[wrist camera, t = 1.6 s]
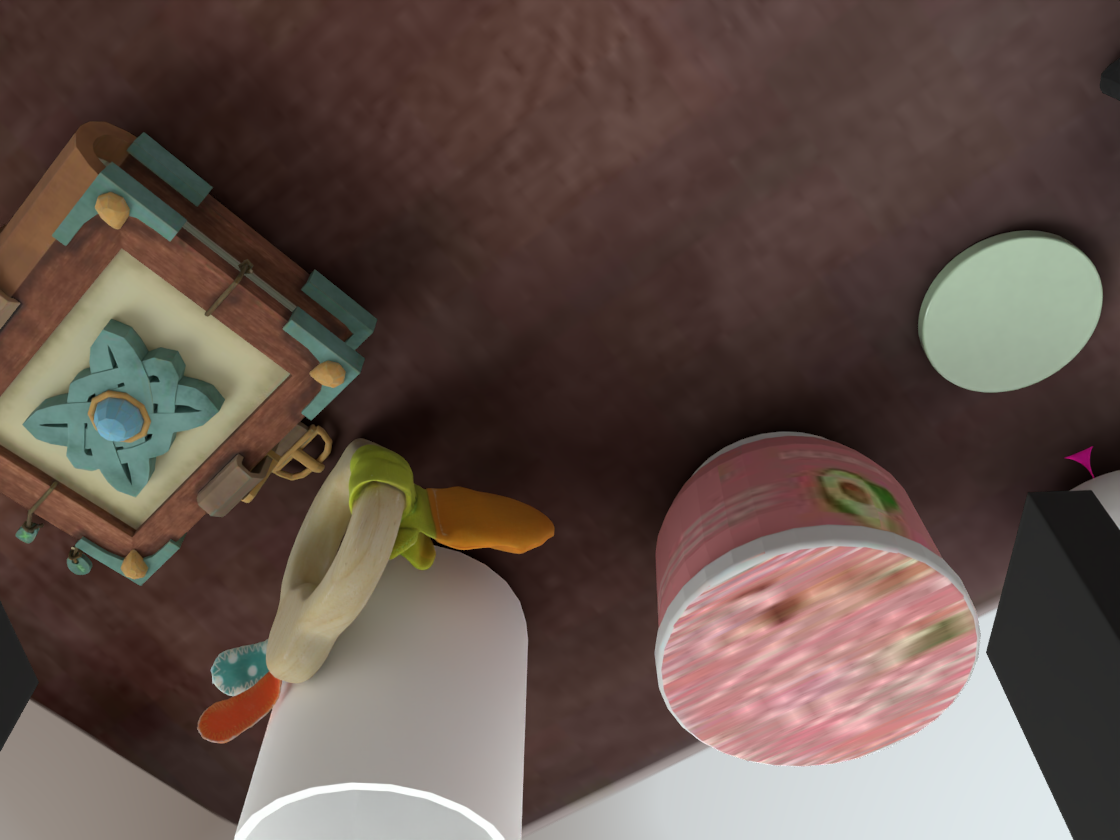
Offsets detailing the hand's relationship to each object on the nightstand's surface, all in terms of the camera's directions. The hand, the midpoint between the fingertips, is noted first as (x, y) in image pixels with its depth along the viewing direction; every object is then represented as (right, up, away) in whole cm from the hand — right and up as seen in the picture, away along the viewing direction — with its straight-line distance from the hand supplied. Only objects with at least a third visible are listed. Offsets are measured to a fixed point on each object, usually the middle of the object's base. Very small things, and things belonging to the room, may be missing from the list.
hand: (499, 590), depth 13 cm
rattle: (-4, +1, +25) cm, 25 cm away
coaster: (+16, +6, +22) cm, 28 cm away
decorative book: (-14, +3, +24) cm, 28 cm away
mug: (-5, -7, +31) cm, 32 cm away
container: (+9, -1, +27) cm, 29 cm away
